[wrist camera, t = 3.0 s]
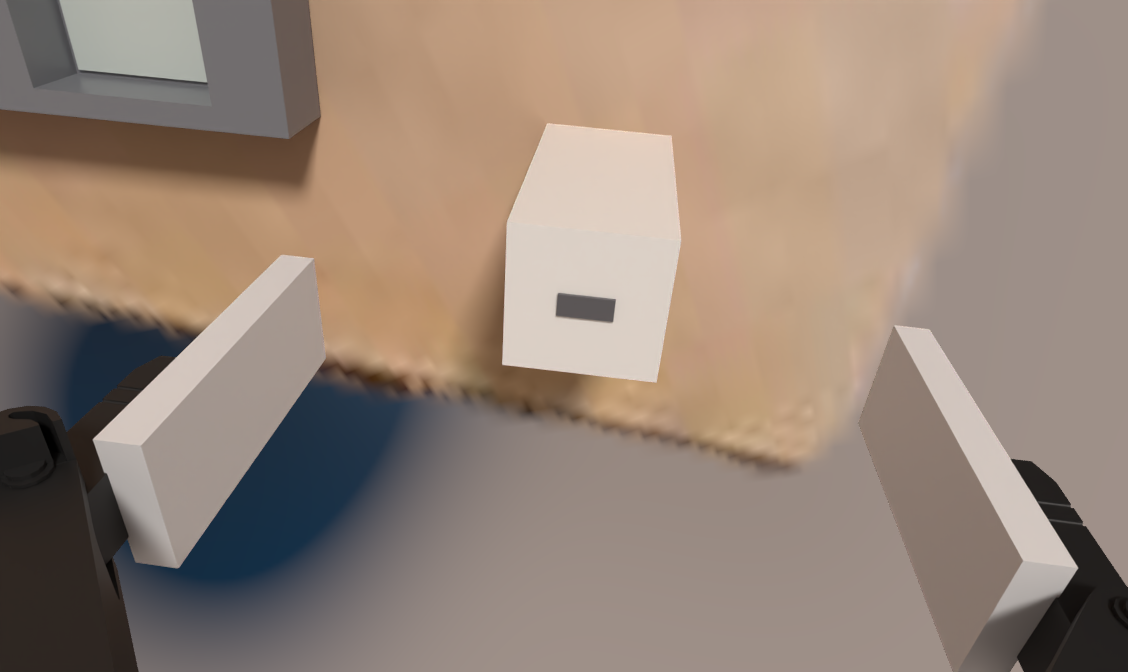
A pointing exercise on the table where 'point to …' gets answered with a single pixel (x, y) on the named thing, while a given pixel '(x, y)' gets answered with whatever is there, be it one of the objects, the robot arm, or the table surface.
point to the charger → (592, 254)
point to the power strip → (163, 62)
